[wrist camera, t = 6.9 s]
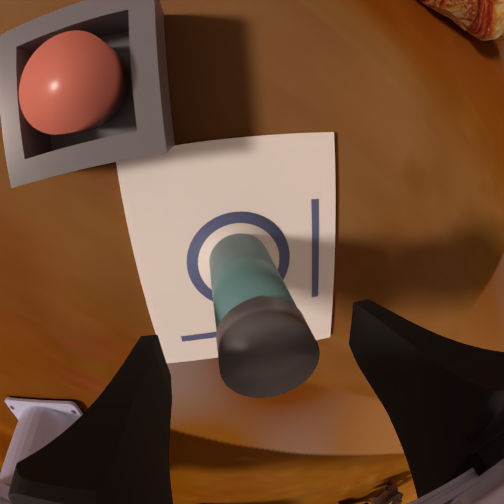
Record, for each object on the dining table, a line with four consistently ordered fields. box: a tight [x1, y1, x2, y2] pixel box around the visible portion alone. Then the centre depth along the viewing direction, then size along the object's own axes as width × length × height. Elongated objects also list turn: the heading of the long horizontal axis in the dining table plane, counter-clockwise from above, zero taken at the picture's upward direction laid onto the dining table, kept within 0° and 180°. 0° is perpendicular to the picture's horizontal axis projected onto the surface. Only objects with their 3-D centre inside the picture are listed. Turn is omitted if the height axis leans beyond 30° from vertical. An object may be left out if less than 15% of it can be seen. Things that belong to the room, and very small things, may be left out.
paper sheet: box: [116, 132, 336, 363], centre depth 17 cm, size 13×11×1 cm
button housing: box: [0, 0, 175, 188], centre depth 11 cm, size 7×7×4 cm
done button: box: [19, 30, 128, 135], centre depth 10 cm, size 4×4×2 cm
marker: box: [209, 233, 319, 398], centre depth 13 cm, size 3×3×8 cm
